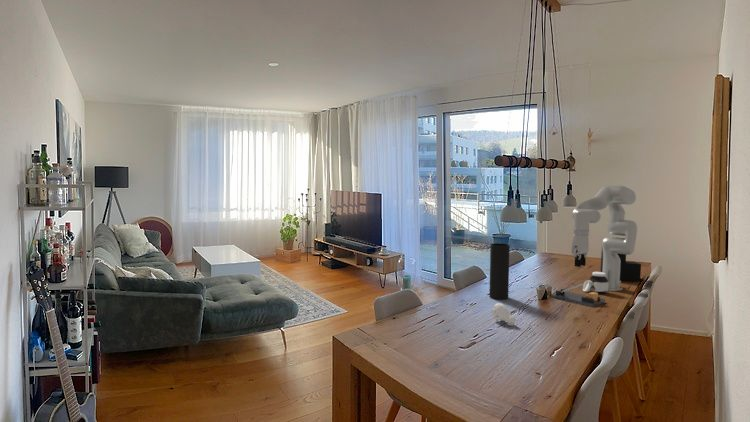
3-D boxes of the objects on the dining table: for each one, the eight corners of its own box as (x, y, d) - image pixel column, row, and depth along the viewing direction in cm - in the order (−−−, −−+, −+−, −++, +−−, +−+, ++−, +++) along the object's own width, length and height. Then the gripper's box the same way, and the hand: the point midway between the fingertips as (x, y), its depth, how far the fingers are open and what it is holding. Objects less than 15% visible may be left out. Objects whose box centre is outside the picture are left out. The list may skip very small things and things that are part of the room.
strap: (561, 293, 260) (560, 291, 260) (583, 284, 250) (582, 283, 250) (558, 294, 258) (557, 292, 258) (580, 285, 247) (579, 284, 248)
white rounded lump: (500, 301, 217) (520, 309, 207) (498, 317, 219) (518, 327, 209) (491, 302, 214) (510, 311, 204) (489, 320, 215) (509, 329, 205)
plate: (563, 293, 265) (563, 287, 265) (605, 302, 246) (605, 296, 246) (550, 297, 256) (550, 291, 256) (592, 307, 237) (592, 300, 237)
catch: (588, 298, 249) (588, 291, 248) (597, 300, 245) (598, 292, 244) (584, 299, 246) (584, 292, 245) (593, 301, 242) (593, 294, 241)
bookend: (636, 278, 305) (637, 243, 303) (643, 281, 294) (645, 245, 292) (599, 277, 308) (601, 242, 306) (606, 280, 297) (607, 245, 295)
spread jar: (610, 293, 264) (611, 274, 263) (595, 295, 260) (596, 275, 259) (593, 289, 275) (594, 270, 274) (579, 290, 271) (579, 271, 270)
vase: (508, 300, 250) (510, 246, 247) (489, 299, 252) (491, 245, 250) (507, 295, 260) (508, 243, 258) (489, 294, 262) (490, 243, 260)
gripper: (582, 231, 256) (580, 263, 257) (566, 233, 245) (565, 266, 247) (595, 232, 250) (594, 265, 251) (580, 234, 239) (578, 269, 241)
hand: (579, 265), depth 249 cm, fingers open, 4 cm apart
